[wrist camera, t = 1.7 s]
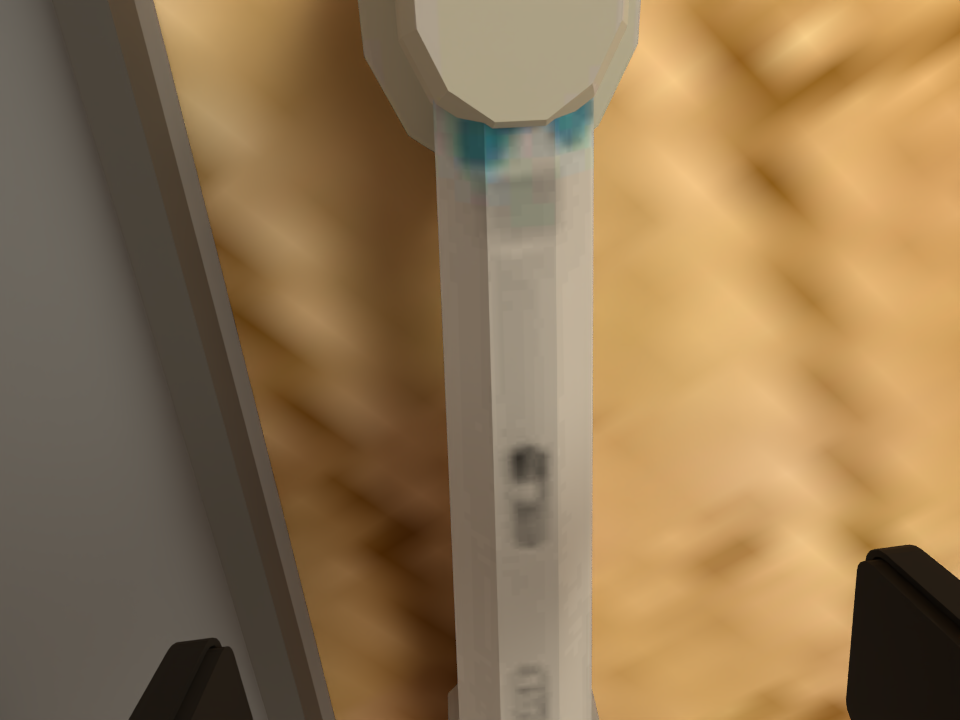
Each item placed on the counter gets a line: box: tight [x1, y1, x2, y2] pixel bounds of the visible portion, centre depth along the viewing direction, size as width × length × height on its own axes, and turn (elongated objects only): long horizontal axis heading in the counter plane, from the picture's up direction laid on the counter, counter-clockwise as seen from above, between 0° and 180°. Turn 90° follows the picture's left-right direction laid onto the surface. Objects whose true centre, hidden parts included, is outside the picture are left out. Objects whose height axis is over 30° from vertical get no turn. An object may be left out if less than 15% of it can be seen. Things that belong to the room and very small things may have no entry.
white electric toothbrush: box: [358, 0, 641, 720], centre depth 15 cm, size 5×7×25 cm
